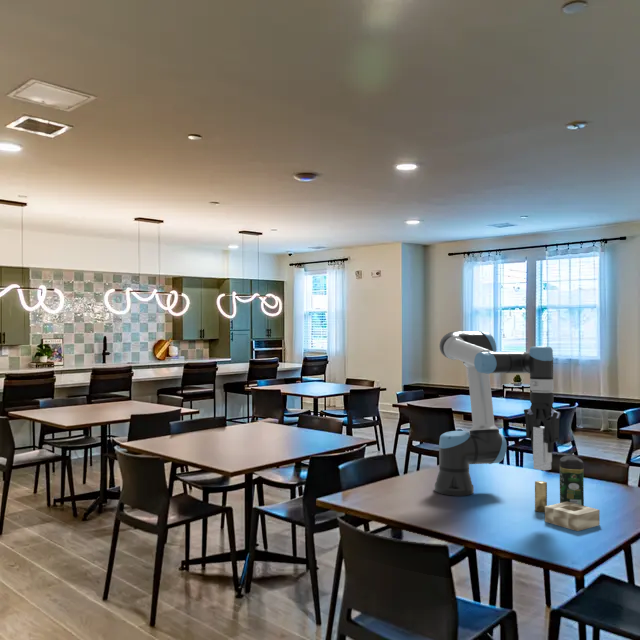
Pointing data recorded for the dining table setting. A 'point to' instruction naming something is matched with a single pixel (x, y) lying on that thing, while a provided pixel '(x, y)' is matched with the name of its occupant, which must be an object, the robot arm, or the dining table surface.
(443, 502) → the dining table surface
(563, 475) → the coffee jar
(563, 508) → the socket block
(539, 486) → the round bit
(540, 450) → the square bit
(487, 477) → the dining table surface
